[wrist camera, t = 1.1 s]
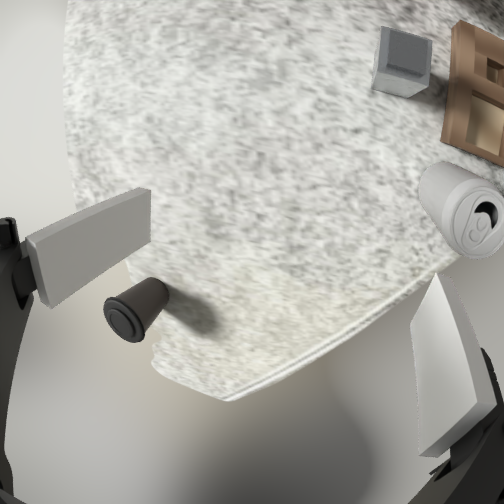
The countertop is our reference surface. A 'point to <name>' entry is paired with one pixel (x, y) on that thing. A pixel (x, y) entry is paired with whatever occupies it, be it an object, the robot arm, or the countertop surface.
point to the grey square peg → (401, 63)
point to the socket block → (475, 94)
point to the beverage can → (463, 209)
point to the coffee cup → (136, 309)
